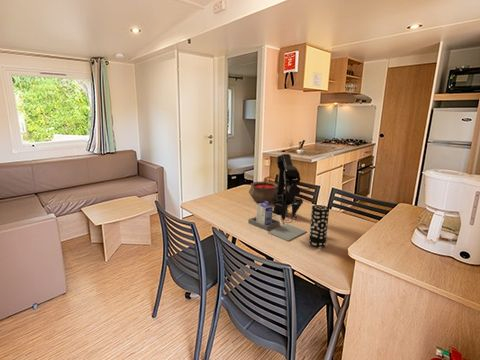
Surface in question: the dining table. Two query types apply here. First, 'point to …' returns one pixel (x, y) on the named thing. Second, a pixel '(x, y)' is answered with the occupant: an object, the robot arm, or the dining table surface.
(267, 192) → the dark brown bowl
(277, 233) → the mat
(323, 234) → the spotted tube
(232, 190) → the dining table surface
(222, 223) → the dining table surface
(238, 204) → the dining table surface
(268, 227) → the grey rectangular frame
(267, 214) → the ink cartridge box
